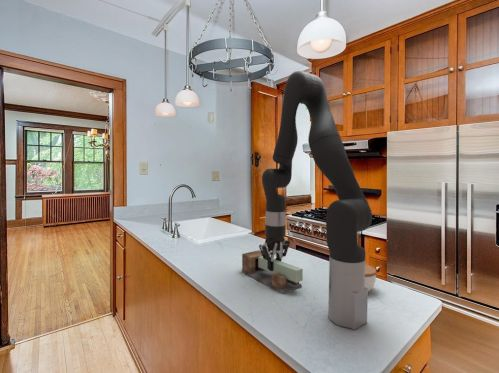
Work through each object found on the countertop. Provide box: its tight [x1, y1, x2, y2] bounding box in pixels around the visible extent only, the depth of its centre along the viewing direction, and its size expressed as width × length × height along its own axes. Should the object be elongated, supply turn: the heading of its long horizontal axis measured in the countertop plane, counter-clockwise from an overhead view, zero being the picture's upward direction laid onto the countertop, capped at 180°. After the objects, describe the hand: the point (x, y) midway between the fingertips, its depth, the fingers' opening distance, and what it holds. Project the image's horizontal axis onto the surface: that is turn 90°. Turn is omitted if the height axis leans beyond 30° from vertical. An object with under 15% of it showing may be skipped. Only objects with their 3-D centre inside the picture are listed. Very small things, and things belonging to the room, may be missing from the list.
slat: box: [258, 256, 304, 283], centre depth 96 cm, size 20×3×4 cm, turn 37°
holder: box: [241, 249, 303, 295], centre depth 100 cm, size 24×9×8 cm, turn 37°
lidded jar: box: [365, 263, 377, 292], centre depth 91 cm, size 11×11×9 cm
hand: (274, 269), depth 98 cm, fingers closed on slat, 3 cm apart
